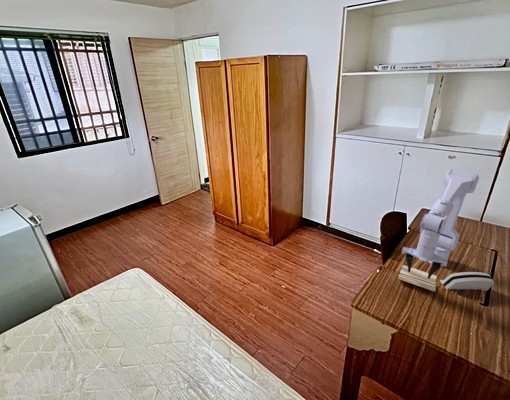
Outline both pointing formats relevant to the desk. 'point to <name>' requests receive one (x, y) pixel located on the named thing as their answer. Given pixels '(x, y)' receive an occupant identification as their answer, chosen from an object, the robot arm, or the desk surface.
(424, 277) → the laid board
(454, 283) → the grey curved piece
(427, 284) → the board
